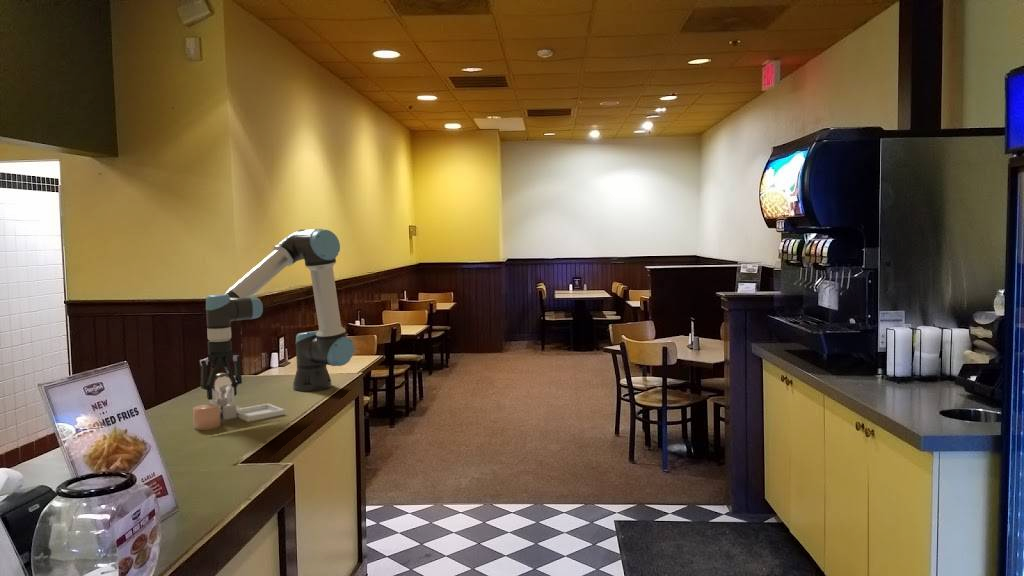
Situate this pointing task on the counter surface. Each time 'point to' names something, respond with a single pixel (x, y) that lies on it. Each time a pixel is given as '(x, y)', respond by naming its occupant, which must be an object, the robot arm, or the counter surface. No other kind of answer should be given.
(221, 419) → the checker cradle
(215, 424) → the peach rounded pebble
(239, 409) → the plate
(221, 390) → the light bulb
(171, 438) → the counter surface
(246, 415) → the tray
